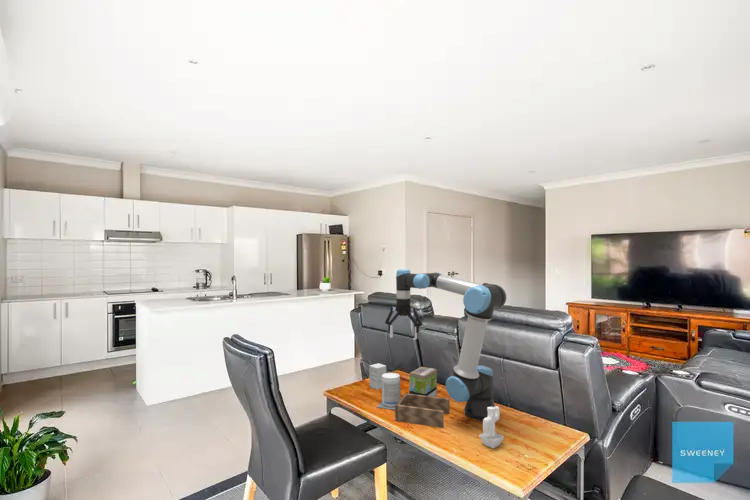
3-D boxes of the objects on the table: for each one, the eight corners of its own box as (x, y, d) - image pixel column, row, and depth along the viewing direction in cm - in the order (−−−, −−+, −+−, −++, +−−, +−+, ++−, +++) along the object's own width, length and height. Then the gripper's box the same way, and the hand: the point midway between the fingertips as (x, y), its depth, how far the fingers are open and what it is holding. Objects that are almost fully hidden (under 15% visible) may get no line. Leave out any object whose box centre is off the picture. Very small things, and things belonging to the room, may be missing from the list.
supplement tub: (404, 405, 195) (404, 376, 196) (389, 409, 190) (388, 379, 190) (393, 399, 204) (392, 371, 204) (378, 402, 198) (378, 374, 199)
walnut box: (449, 413, 186) (449, 398, 186) (443, 427, 170) (442, 412, 170) (405, 407, 194) (405, 393, 194) (395, 420, 178) (395, 405, 178)
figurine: (477, 445, 154) (476, 407, 155) (490, 437, 160) (490, 401, 161) (492, 452, 149) (492, 413, 149) (506, 444, 155) (505, 407, 155)
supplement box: (378, 384, 229) (378, 362, 229) (386, 387, 223) (386, 365, 224) (369, 386, 224) (369, 365, 225) (377, 390, 219) (377, 367, 219)
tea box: (426, 404, 197) (425, 375, 198) (408, 400, 203) (408, 372, 203) (437, 395, 210) (437, 368, 210) (420, 392, 215) (420, 365, 216)
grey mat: (406, 402, 200) (406, 401, 200) (399, 410, 189) (399, 410, 189) (384, 399, 205) (384, 398, 205) (376, 407, 193) (376, 406, 193)
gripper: (427, 298, 204) (428, 338, 204) (383, 296, 213) (383, 335, 212) (424, 299, 197) (424, 341, 197) (379, 298, 206) (379, 337, 205)
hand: (403, 338), depth 204 cm, fingers open, 13 cm apart
